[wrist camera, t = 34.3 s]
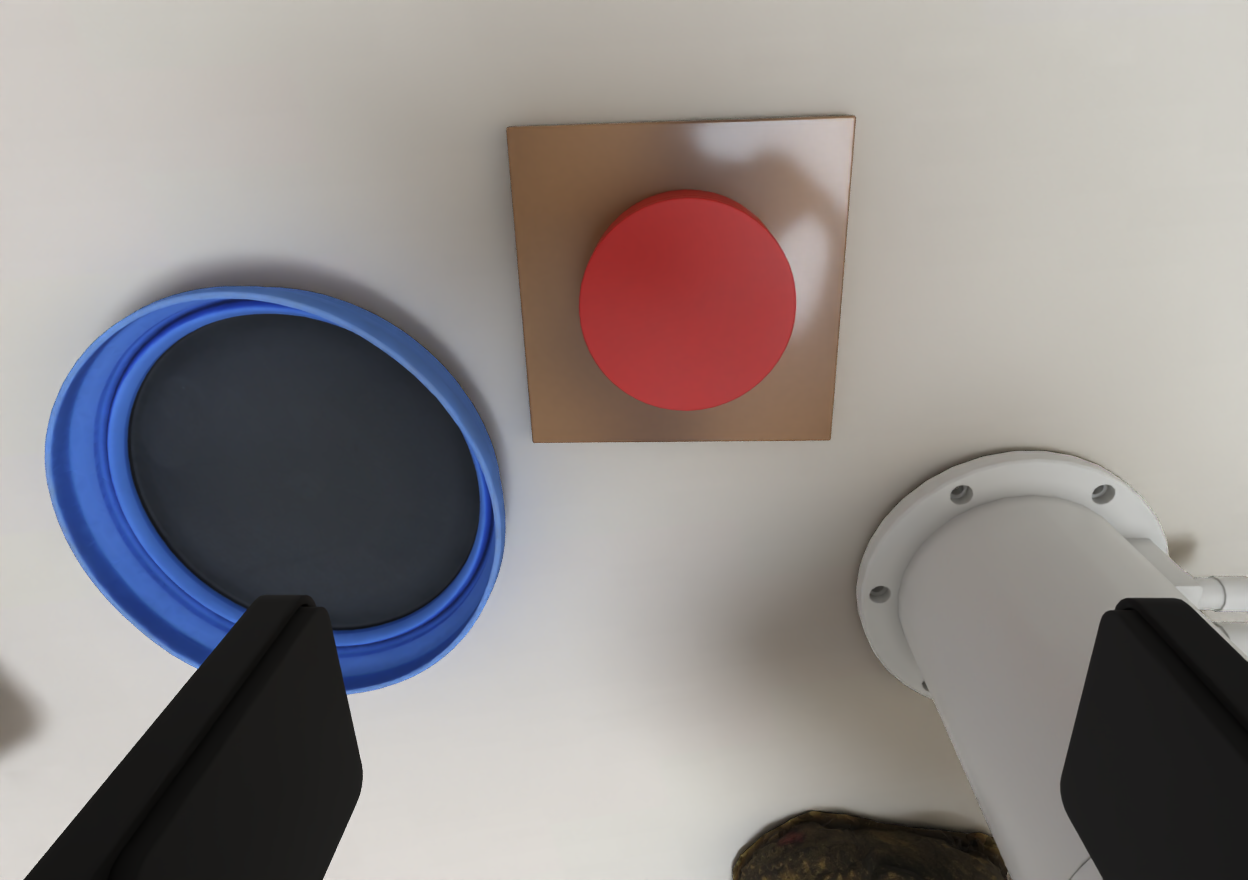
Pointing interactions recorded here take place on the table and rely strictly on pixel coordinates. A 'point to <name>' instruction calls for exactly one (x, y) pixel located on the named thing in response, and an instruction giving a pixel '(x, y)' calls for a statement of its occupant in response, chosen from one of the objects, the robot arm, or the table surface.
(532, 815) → the table surface
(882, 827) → the seashell
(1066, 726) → the robot arm
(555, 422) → the coaster
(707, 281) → the lid
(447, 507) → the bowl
